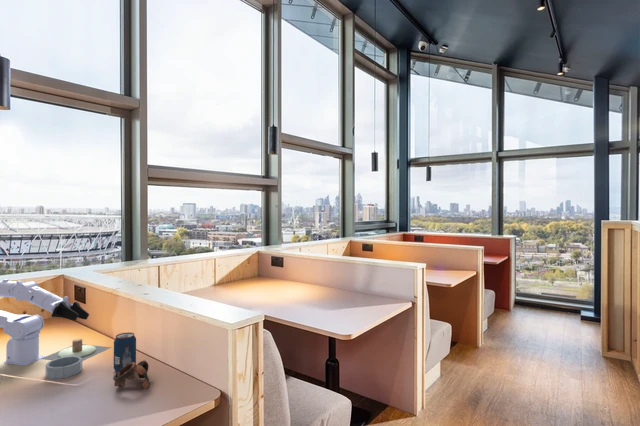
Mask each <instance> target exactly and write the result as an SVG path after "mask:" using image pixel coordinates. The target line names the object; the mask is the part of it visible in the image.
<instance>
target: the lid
mask: <svg viewBox="0 0 640 426" xmlns="http://www.w3.org/2000/svg"><path fill="white" fill-rule="evenodd" d="M82 344H83V338H77V339H73V340H72V345H71V346H72V347H71V346H69V347H70V348H68V347H66V348H67V349H66V348H64V350H63V349H61V350H62V351H61V350H59V351H60V352H59V353H58V357H59V358H61V357H66V356H79V357H85V356H88V355H90V354H92V353H94V352H95V351H96V348H95V347H94V346H95V345H94V346H91V345H92V344H85V345H82Z"/></svg>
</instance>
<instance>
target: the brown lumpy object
mask: <svg viewBox="0 0 640 426" xmlns="http://www.w3.org/2000/svg"><path fill="white" fill-rule="evenodd" d="M126 371H127V372H126ZM135 372H136V374H137V376H138V378H139V379H144V380H143V382H142V383H141V386H142V388H143V389H144V390H146V389H147V388H148V387H149V386H150V385H151V384H150V383H151V381H150V378H149V375H148V372H149V363H148V361H146V360H142V361H139V362H138V363H137V362H136V363H135V362H133V363H130V364H128V365H126V366H125V367H123V368H122V369H121V370H120V371H119V373H115V375H114V376H113V378H112V379H113V381H114V383H113V384H114V387H119V386H123V387H125V385H126V384H125V383H126V380H135V379H136V376H135Z"/></svg>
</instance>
